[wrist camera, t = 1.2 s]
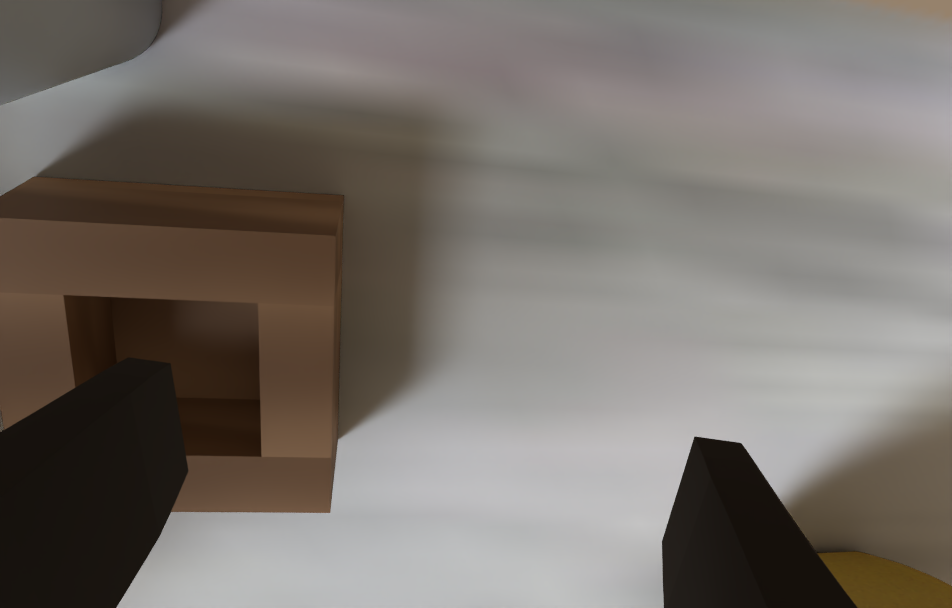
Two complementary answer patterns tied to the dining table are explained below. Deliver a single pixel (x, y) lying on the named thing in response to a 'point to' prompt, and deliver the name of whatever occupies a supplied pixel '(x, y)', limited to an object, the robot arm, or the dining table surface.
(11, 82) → the dowel
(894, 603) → the flower pot
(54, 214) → the socket block
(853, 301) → the dining table surface
